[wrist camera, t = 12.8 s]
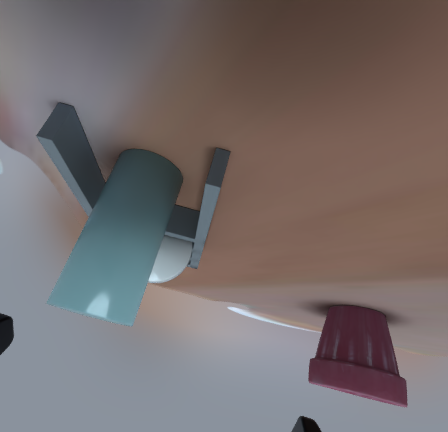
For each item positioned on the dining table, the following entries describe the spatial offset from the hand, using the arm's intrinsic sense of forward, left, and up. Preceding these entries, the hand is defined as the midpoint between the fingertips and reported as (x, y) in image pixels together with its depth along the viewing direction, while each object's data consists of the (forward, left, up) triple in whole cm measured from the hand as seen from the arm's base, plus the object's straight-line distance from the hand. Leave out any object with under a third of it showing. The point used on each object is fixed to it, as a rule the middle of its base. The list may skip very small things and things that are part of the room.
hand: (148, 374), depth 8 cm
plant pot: (+42, -25, -14) cm, 51 cm away
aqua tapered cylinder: (-1, -13, -14) cm, 19 cm away
